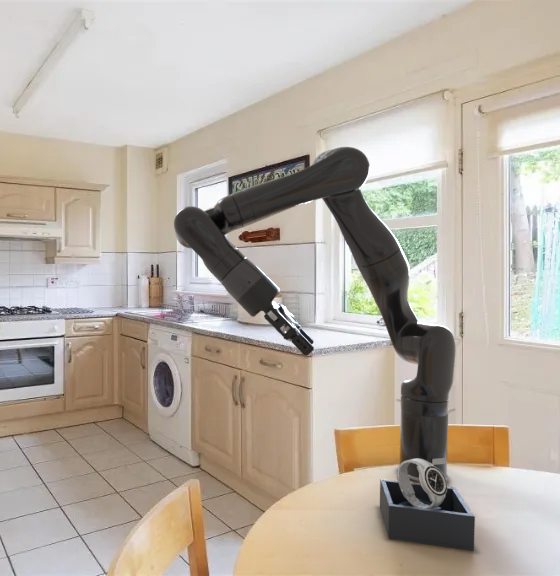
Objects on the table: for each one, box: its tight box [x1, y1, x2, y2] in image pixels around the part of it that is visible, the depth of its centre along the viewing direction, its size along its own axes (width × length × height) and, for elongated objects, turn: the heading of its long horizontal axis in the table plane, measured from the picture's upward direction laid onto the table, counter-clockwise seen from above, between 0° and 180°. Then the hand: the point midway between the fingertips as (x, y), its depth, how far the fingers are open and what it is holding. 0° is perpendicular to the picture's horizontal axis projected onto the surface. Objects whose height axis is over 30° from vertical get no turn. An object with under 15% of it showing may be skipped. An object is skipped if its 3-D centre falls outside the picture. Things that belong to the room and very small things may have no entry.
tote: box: [379, 478, 476, 552], centre depth 83 cm, size 11×13×6 cm
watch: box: [396, 458, 448, 510], centre depth 83 cm, size 6×8×11 cm
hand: (310, 348), depth 90 cm, fingers open, 8 cm apart
